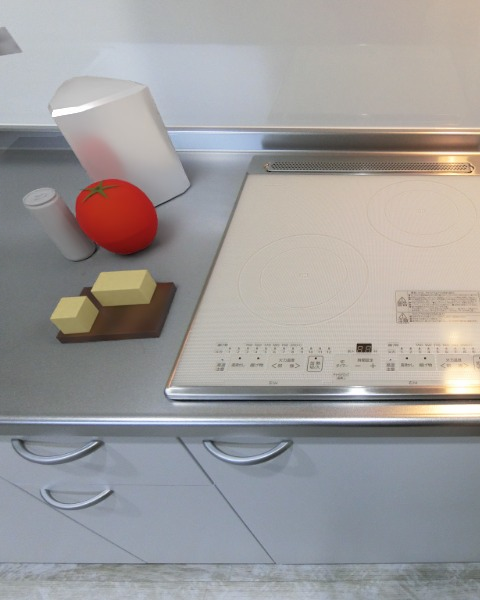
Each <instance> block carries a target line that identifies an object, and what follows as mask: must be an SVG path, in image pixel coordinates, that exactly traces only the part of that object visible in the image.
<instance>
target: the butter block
mask: <svg viewBox="0 0 480 600" xmlns="http://www.w3.org/2000/svg"><path fill="white" fill-rule="evenodd" d="M156 283H157V282H156V281H155V280H154V278H153V276H152V275H151V273H150V272H149V269H134V270H132V269H131V270H114V271H100V273H99V274H98V276H97V278H96V280H95V281H94V284H93V286H92V287H93V288H92V290H91V292H92V294H93V295H94V296H95V297H96V299H97V300H98V301H99V302H100V304H101V305H102V306H118V305H135V304H149V303H150V301H151V298H152V296H153V293H154V291H155V288H156V286H157V284H156Z"/></svg>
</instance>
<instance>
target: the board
mask: <svg viewBox="0 0 480 600" xmlns="http://www.w3.org/2000/svg"><path fill="white" fill-rule="evenodd" d="M155 283H156V284H157V286H156V288H155V291H154V293H153V296H152V298H151V301H150V303H149V304H135V305H118V306H102V305H101V304H100V302H99V301H98V300H97V299H96V297H95V296H94V295H93V294H92V292H91V290H92V288H93V286H83V287H82V289H81V291H80V293H79V295H78V297H79V296H87V297H88V298H89V300H90V301H91V302H92V303H93V305H94V306H95V307H96V308H97V309H98V311H99V313H98V315H97V317H96V319H95V321H94V323H93V325H92V327H91V329H90V331H89V332H85V333H71V334H64V333H63V332H62V331H61V330H60V329H59V331H58V333H57V334H56V337H55V338H56V340H57V341H59V342H60V343H61V344H76V343H91V342H92V343H93V342H107V341H123V340H138V339H152V338H153V339H155V338H160V335H161V333H162V330H163V327H164V324H165V322H166V319H167V317H168V313H169V311H170V308H171V305H172V302H173V300H174V297H175V295H176V292H177V286H176V284H175V283H174V281H168V282H167V281H166V282H155Z"/></svg>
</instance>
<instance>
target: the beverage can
mask: <svg viewBox="0 0 480 600" xmlns="http://www.w3.org/2000/svg"><path fill="white" fill-rule="evenodd" d="M21 201H22V203H23V205H24V207H25V208H26V210H27V211H28V212H29V214H30V215H31V216H32V217H33V218H34V220H35V221H36V223H38V225H39V226H40V227H41V229H42V230H43V231H44V232H45V233H46V235H47V236H48V238H50V240H51V241H52V242H53V244H54V245H55V246H56V247H57V249H58V250H59V251H60V252H61V254H62V255H63V256H64V257H65V258H66V259H67V260H69V261H74V262H78V261H83V260H86V259H88V258H90V257H91V256H93V254H94V252H95V250H96V245H95V244H96V243H95V242H94V241H93V240H91V239H90V238H89V237H88V236H87V235H86V234H85V233H84V231H83V230H82V229H81V227H80V225H79V223H78V221H77V219H76V215H74V213H73V212H72V210H71V209H70V208H69V206H68V205H67V204H66V202H65V200H64V199H63V197H62V196H61V195H60V194H59V193H58V192H57V191H56V189H54V188H52V187H41V188H37V189H34V190H32V191H30V192H28V193H27V194H25V195H24V196H23V197H22V200H21Z"/></svg>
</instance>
